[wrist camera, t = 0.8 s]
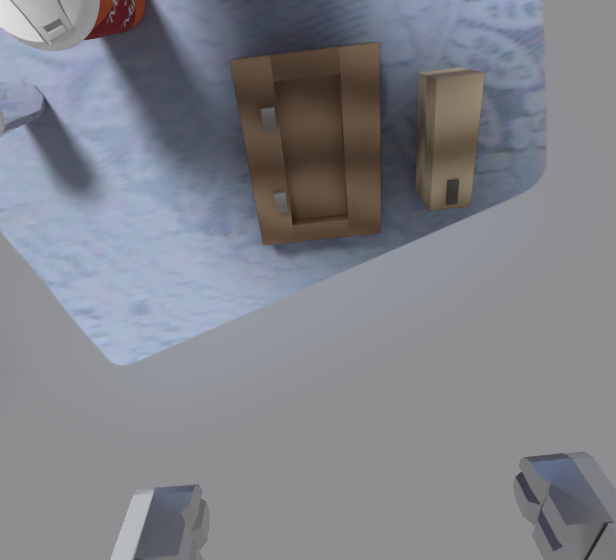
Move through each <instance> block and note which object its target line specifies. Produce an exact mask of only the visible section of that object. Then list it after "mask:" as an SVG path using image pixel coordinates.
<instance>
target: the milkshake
mask: <svg viewBox="0 0 616 560" xmlns="http://www.w3.org/2000/svg"><path fill="white" fill-rule="evenodd" d="M45 108H46V105H45V100H44V96H43V95H42V94H41V93H40V91H39V90H38V89H37V88H36V87H35V86H34V85H31V84H29V83H26V82H24V81H16V82H0V138H1V137H3V136H4V135H6V134H8V133H10V132H11V131H13V130H15V129H17V128H19V127H21V126H23V125H24V124H26V123H28V122H30V121H32V120H34V119H36V118H38V117H40V116H42V114H43V112H44V110H45Z"/></svg>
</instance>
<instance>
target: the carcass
mask: <svg viewBox="0 0 616 560" xmlns="http://www.w3.org/2000/svg"><path fill="white" fill-rule="evenodd" d="M230 65H231V70H232V76H233V81H234V87H235V92H236V98H237V103H238V109H239V114H240V120H241V125H242V131H243V136H244V142H245V147H246V153H247V158H248V164H249V169H250V175H251V180H252V186H253V192H254V197H255V203H256V208H257V214H258V219H259V225H260V230H261V236H262V241H263V245H272V244H282V243H291V242H301V241H310V240H319V239H329V238H338V237H348V236H357V235H366V234H376V233H381V167H380V43H376V42H369V43H361V44H352V45H344V46H335V47H327V48H319V49H310V50H302V51H294V52H285V53H277V54H268V55H260V56H252V57H243V58H235V59H233V60H231V61H230Z"/></svg>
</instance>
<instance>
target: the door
mask: <svg viewBox="0 0 616 560" xmlns="http://www.w3.org/2000/svg"><path fill="white" fill-rule="evenodd" d="M484 76H485V73H484V72H480V71H475V70H471V69H466V68H462V67H458V68H450V69H443V70H435V71H427V72H419V83H418V116H417V150H416V184H415V192H416V193H417V194H418V195H419V197H420V198H421V199H422V201H423V202H424V203H425V205H426V206H427V207H428V209H429V210H430V211H435V210H444V209H452V208H461V207H469V206H470V205H471V196H472V187H473V178H474V168H475V159H476V150H477V141H478V132H479V122H480V113H481V104H482V95H483V85H484Z"/></svg>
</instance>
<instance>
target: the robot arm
mask: <svg viewBox="0 0 616 560" xmlns="http://www.w3.org/2000/svg"><path fill="white" fill-rule="evenodd" d="M519 467H520V469H521V471H522V472H521V473H519V474H518V475H517V476H515V481H514V491H515V497H516V500H517V503H518V506H519V508H520V510H521V513H522V515H523V516H524V517H525V518H526V519H527V520H529V521H530V522H531V523H532V524H533V525H534V528H533V534H532V536H533V538H534V540H535V542H536V544H537V546H538V548H539V550H540V552H541V554H542V556H543V559H544V560H616V489H615V487H614V486H613V485H612V483H611V482H610V480H609V479H608V478H607V476H606V475H605V474H604V472H603V471H602V469H601V468H600V467H599V465H598V464H597V462H596V461H595V460H594V458H593V457H592V456H591V455H589V454H588V453H585V452H577V453H566V454H563V453H561V454H551V455H541V456H532V457H524V458H522V459H521V461H520V464H519ZM201 494H202V490H201V488H200V486H199V484H193V485H181V486H169V487H153V488H142V489H137V491H136V493H135V494H134V496H133V497H132V500H131V503H130V506H129V509H128V511H127V514H126V517H125V520H124V523H123V526H122V528H121V531H120V534H119V537H118V540H117V543H116V545H115V548H114V551H113V554H112V557H111V560H203V559H202V557H201V554H200V552H199V550H200V549H201V548H202V546H203V545H204V544H205V543H206V541H207V537H208V530H209V510H208V506H207V503H206V501H205V500H203V499H201Z"/></svg>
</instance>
